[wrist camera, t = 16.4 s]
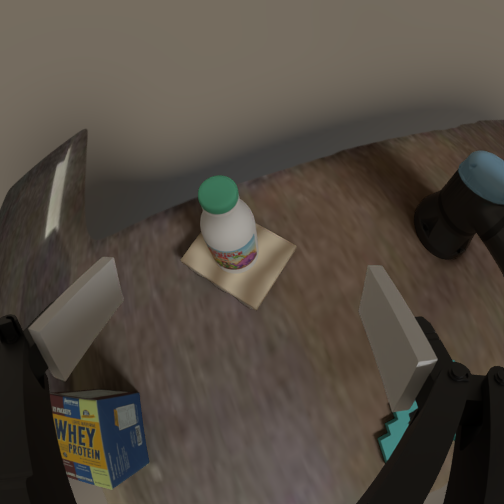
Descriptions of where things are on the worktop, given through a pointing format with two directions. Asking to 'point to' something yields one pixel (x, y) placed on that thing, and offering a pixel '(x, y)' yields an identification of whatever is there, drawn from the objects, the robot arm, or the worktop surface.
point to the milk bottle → (227, 225)
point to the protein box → (100, 435)
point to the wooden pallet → (251, 281)
